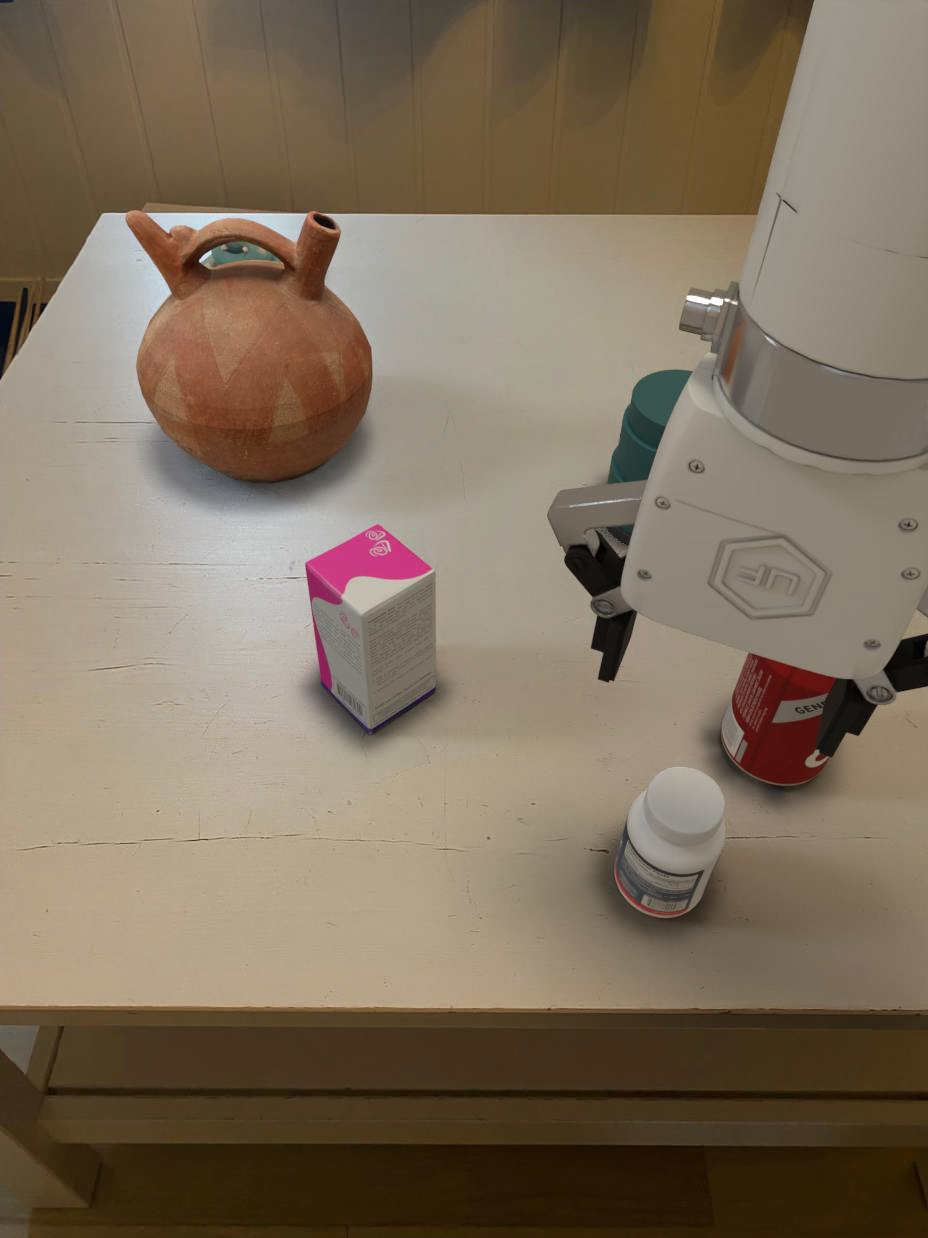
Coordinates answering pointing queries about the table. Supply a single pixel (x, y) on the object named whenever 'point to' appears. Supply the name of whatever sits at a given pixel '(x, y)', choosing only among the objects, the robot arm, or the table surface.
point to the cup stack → (644, 431)
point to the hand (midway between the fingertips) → (717, 693)
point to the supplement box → (374, 626)
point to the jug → (252, 349)
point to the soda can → (776, 721)
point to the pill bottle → (671, 842)
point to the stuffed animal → (237, 254)
